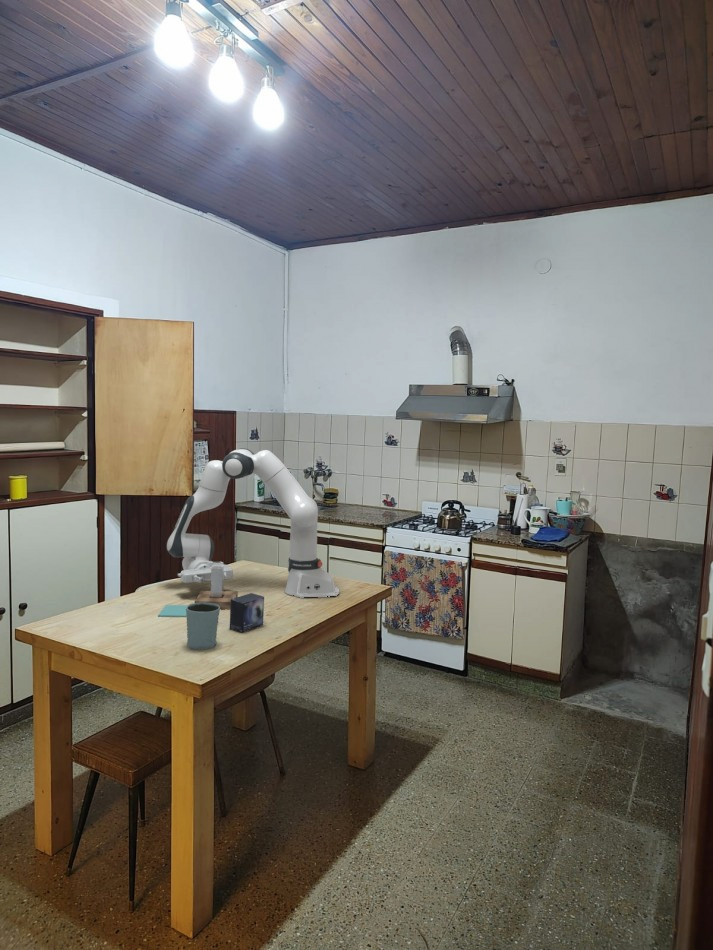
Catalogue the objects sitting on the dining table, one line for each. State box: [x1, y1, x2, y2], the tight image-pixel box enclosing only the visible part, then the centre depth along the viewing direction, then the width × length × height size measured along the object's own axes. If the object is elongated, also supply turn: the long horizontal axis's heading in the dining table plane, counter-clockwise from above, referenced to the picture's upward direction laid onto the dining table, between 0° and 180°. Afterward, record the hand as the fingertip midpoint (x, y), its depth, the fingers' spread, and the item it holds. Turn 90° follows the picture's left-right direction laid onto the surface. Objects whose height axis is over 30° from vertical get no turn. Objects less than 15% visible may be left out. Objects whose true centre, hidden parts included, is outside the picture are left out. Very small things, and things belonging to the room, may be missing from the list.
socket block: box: [194, 590, 239, 611], centre depth 232 cm, size 14×14×3 cm
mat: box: [157, 604, 189, 618], centre depth 221 cm, size 12×12×1 cm
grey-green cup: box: [186, 602, 221, 651], centre depth 190 cm, size 10×10×12 cm
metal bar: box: [210, 566, 224, 598], centre depth 231 cm, size 4×4×14 cm
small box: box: [228, 592, 265, 634], centre depth 207 cm, size 11×6×10 cm, turn 147°
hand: (213, 579), depth 235 cm, fingers open, 8 cm apart
